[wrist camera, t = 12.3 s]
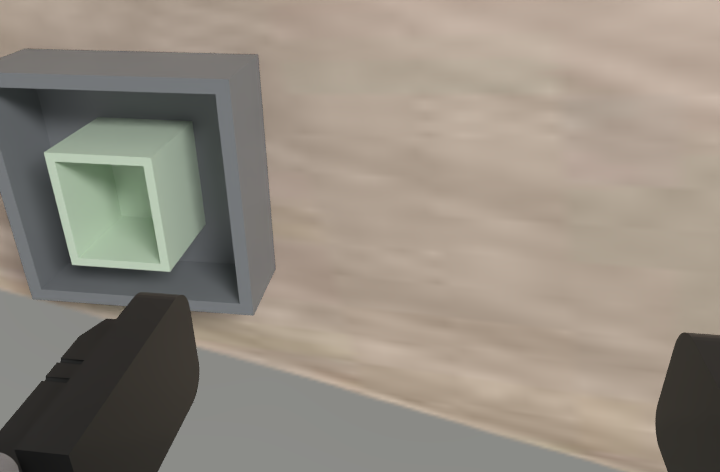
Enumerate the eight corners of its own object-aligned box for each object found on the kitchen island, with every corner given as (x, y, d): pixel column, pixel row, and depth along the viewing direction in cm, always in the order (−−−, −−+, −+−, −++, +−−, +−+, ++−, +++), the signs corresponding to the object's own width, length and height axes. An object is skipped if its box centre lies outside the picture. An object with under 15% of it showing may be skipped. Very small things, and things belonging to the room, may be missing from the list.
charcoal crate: (76, 256, 46) (32, 299, 41) (24, 48, 39) (-36, 71, 34) (275, 269, 44) (253, 315, 39) (258, 54, 37) (228, 79, 32)
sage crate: (119, 218, 43) (72, 264, 37) (98, 117, 39) (43, 152, 34) (205, 223, 42) (170, 271, 37) (192, 121, 39) (151, 157, 33)
